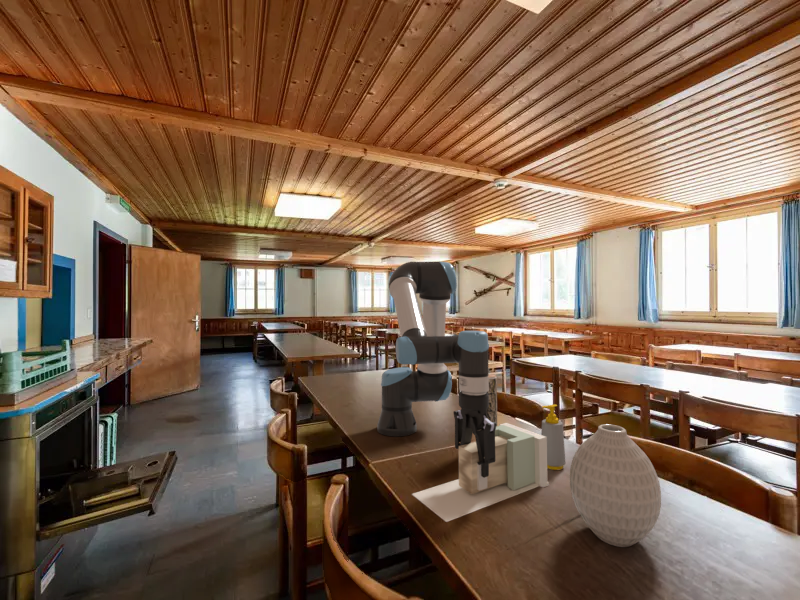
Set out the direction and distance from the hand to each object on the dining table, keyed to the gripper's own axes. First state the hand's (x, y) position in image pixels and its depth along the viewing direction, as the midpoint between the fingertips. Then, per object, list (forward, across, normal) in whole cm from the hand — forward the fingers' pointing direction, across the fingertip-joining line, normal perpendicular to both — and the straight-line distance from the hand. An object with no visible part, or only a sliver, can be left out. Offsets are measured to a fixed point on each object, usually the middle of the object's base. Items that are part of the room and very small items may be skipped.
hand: (474, 483), depth 94 cm
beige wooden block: (+1, 0, +4) cm, 5 cm away
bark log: (+3, -17, +20) cm, 27 cm away
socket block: (+1, 0, +12) cm, 12 cm away
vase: (+3, +28, +13) cm, 31 cm away
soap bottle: (+3, 0, +30) cm, 31 cm away
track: (+3, 0, +2) cm, 4 cm away
